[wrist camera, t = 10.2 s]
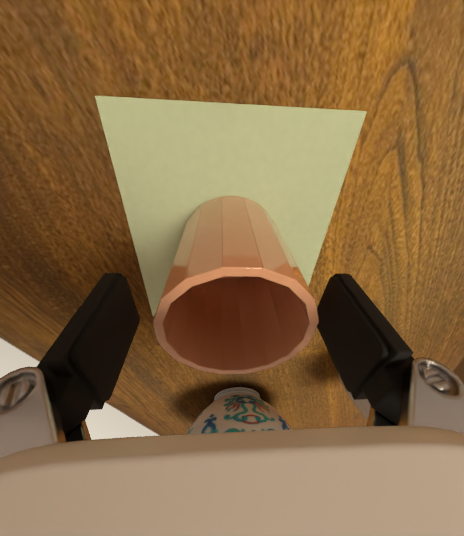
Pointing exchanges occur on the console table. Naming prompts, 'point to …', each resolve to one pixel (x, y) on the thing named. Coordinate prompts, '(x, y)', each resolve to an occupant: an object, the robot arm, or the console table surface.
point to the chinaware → (238, 414)
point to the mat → (225, 170)
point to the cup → (234, 293)
